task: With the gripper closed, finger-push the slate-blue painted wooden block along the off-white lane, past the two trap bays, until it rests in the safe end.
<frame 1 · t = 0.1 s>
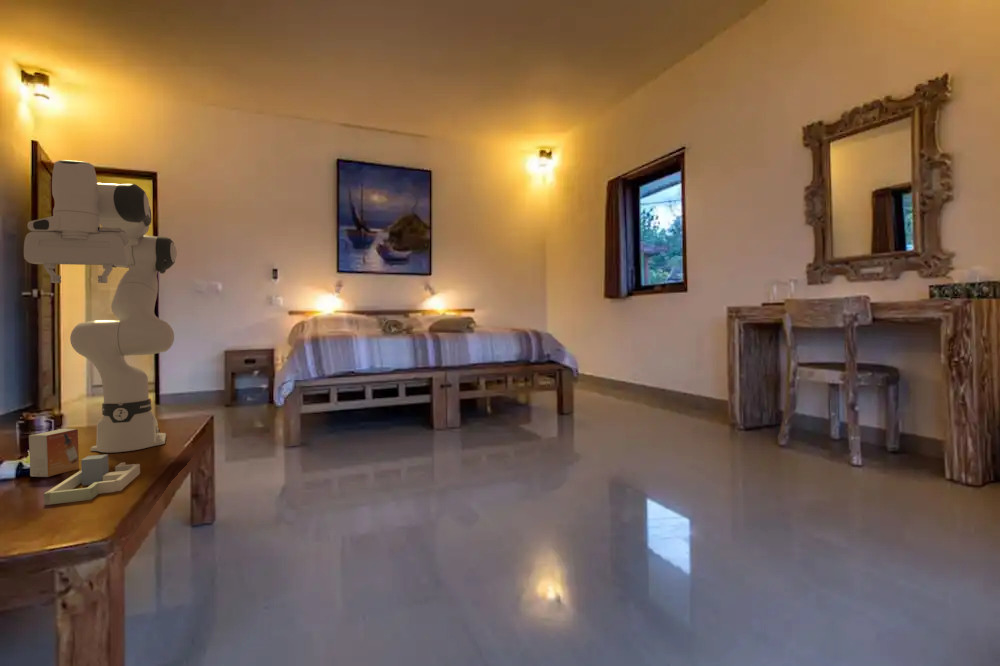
hand: (79, 282, 126), 48 cm above the table, fingers open, 8 cm apart
slate block: (95, 482, 122), resting in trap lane
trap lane: (89, 486, 118), on the table
small box: (55, 473, 131), on the table
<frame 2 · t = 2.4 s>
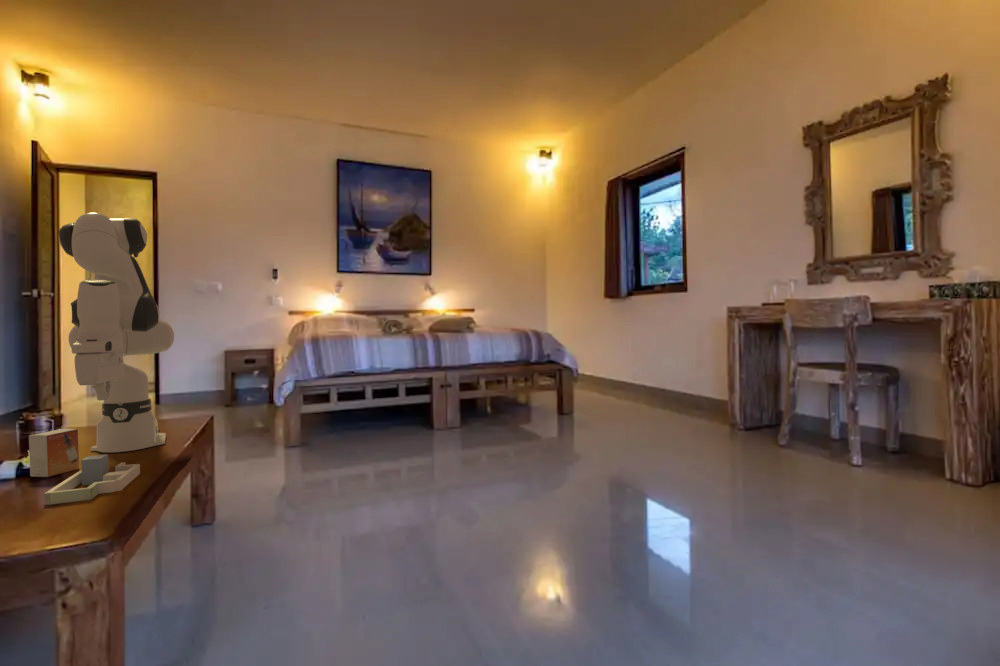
hand: (103, 399, 128), 19 cm above the table, fingers closed
nothing on the table moved.
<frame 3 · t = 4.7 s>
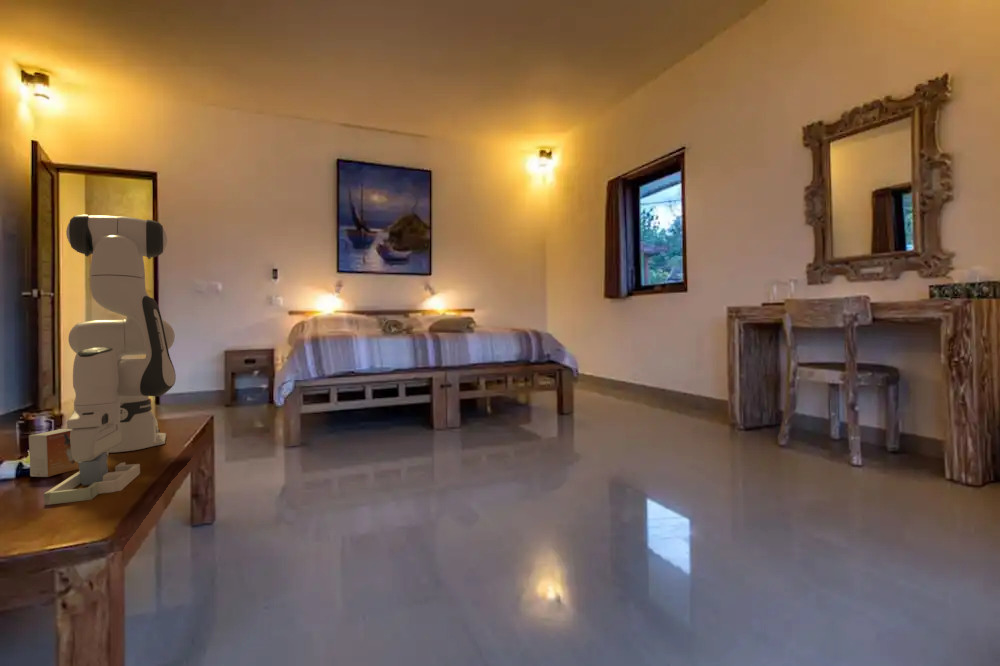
hand: (100, 470, 125), 2 cm above the table, fingers closed
slate block: (95, 479, 122), resting in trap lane, tilted 16°
everything else where it was.
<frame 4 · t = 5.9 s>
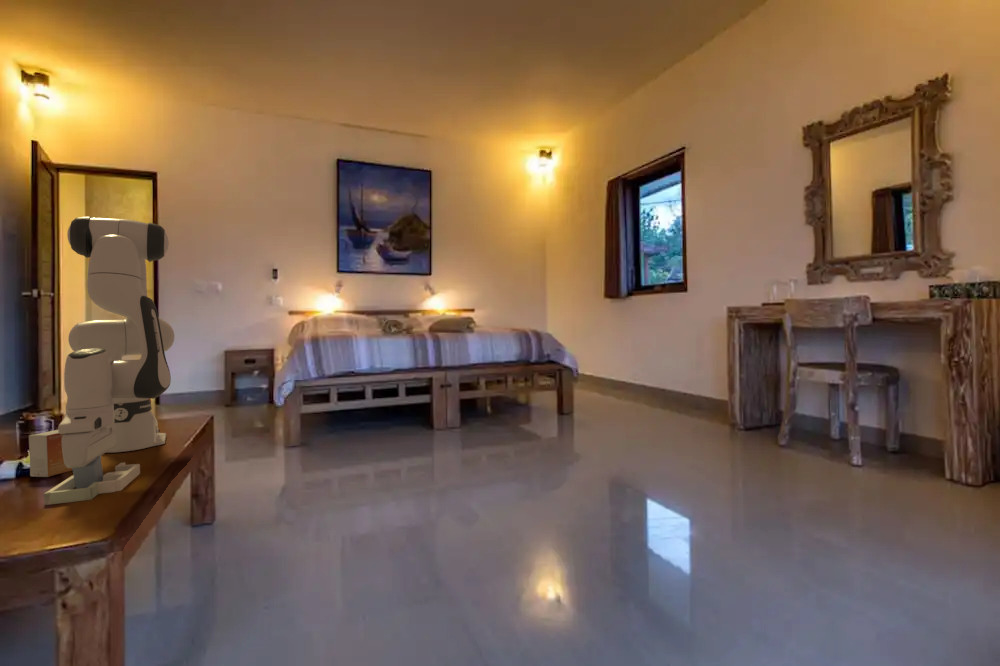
hand: (93, 476, 121), 2 cm above the table, fingers closed, pressing on slate block
slate block: (90, 484, 119), point 1 cm above the table, tilted 18°, touching gripper
everything else where it was.
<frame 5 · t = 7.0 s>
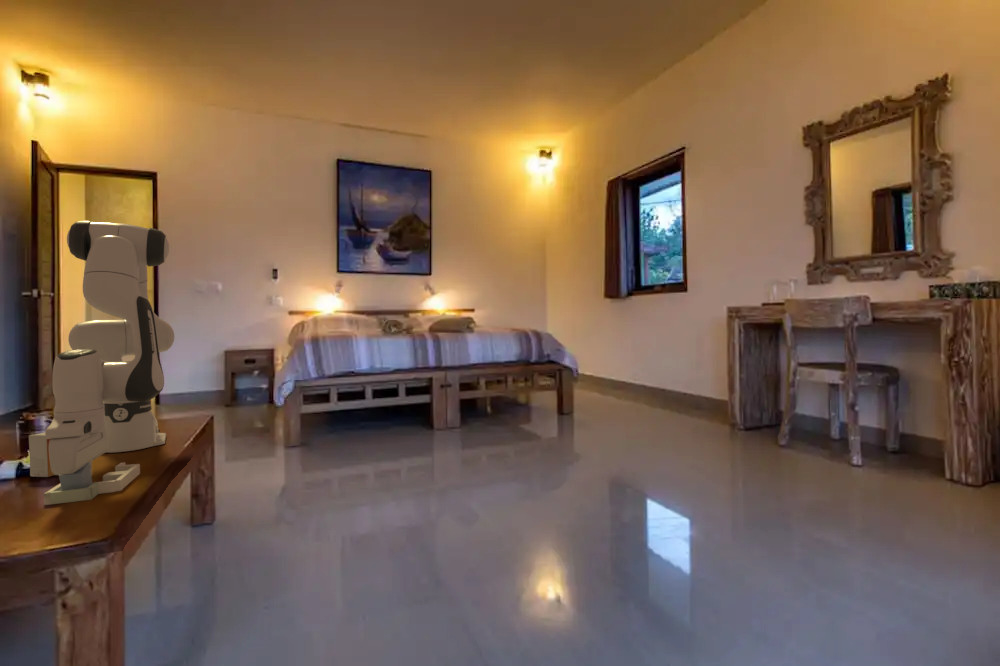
hand: (83, 483, 115), 2 cm above the table, fingers closed
slate block: (78, 492, 112), point 1 cm above the table, tilted 18°, touching gripper
everything else where it was.
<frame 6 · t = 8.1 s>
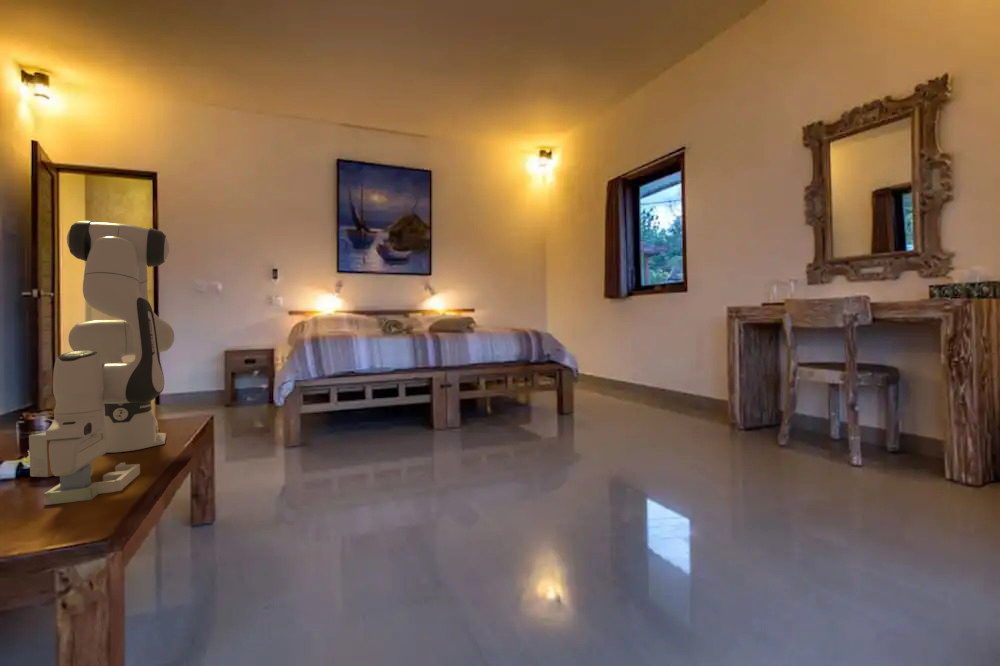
hand: (83, 484, 115), 1 cm above the table, fingers closed
slate block: (77, 495, 112), resting in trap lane, touching gripper
everything else where it was.
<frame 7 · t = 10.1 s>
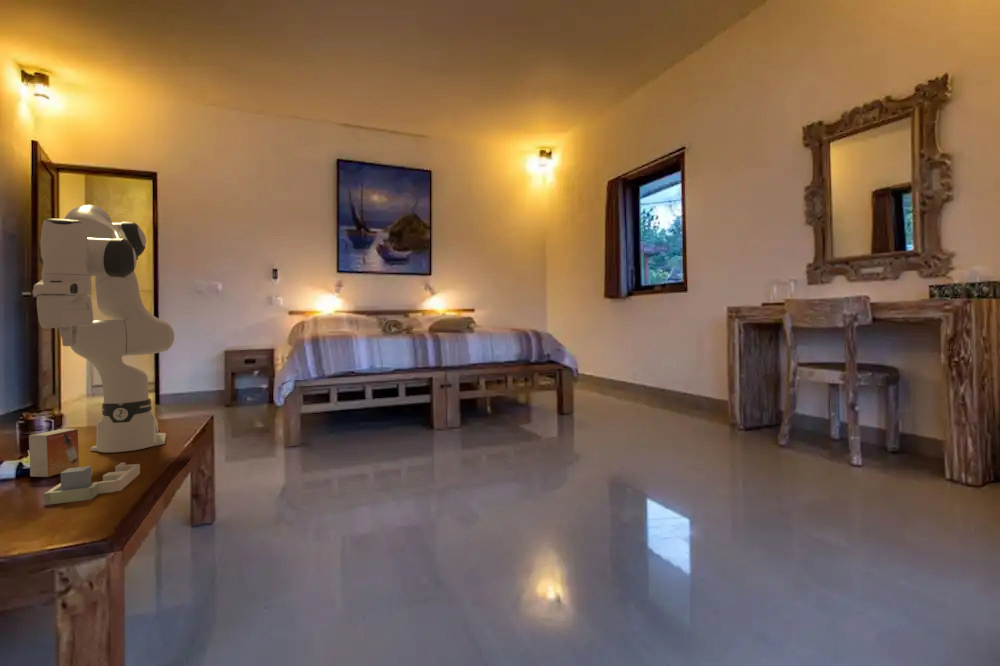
hand: (69, 345, 122), 33 cm above the table, fingers closed
slate block: (77, 496, 112), resting in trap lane
everything else where it was.
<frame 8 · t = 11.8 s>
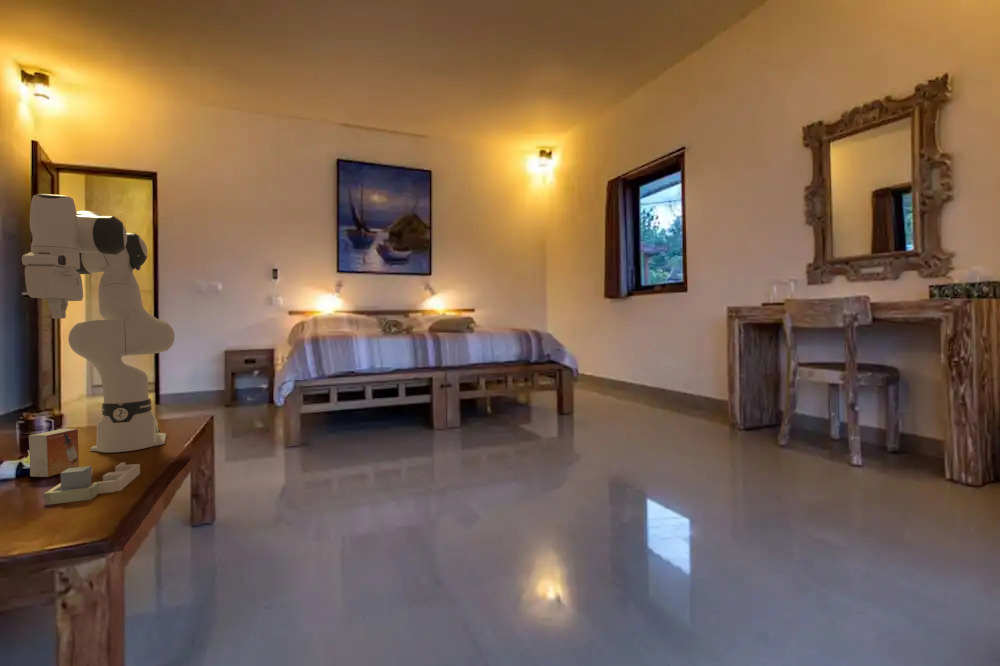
hand: (58, 318, 124), 39 cm above the table, fingers closed
nothing on the table moved.
at the end: slate block inside the target area (0.6 cm from its centre), resting in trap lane; slate block tilted 0° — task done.
